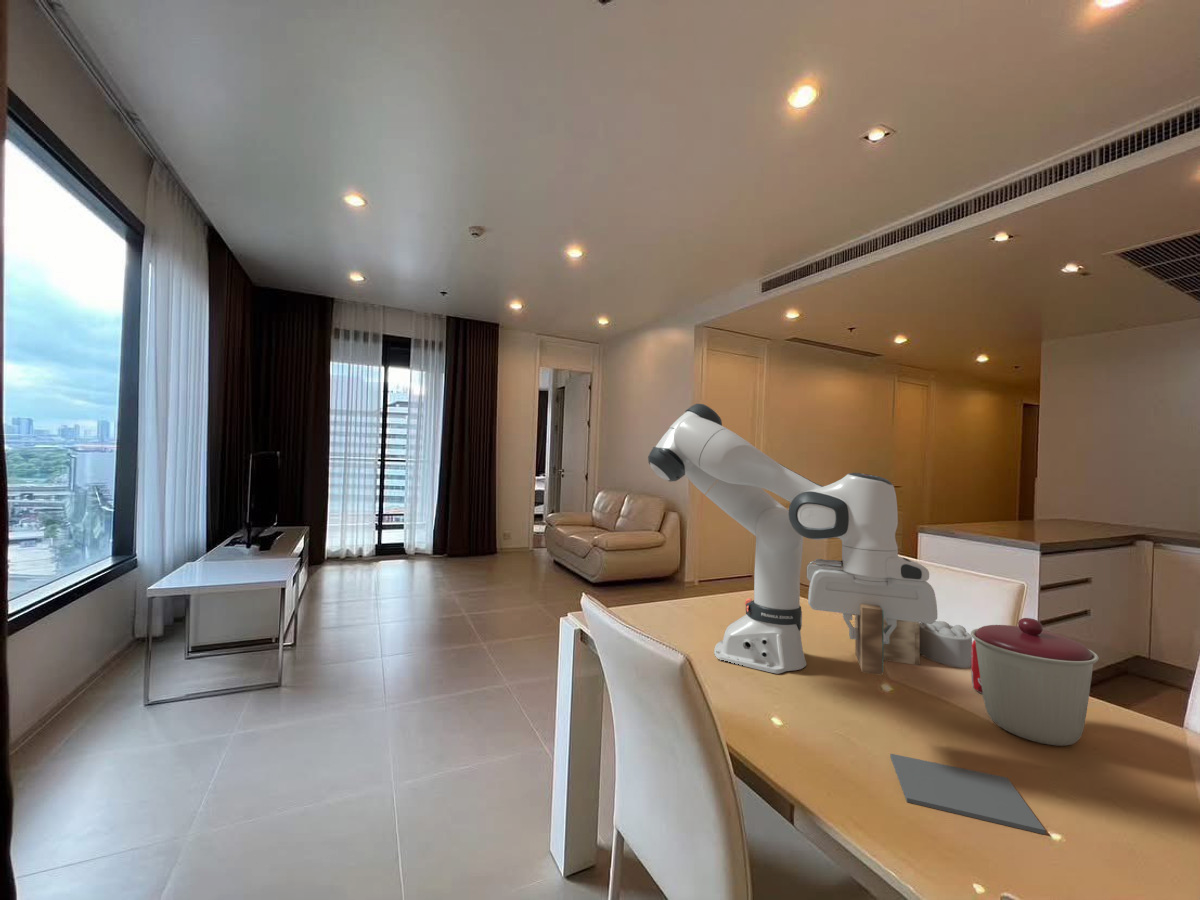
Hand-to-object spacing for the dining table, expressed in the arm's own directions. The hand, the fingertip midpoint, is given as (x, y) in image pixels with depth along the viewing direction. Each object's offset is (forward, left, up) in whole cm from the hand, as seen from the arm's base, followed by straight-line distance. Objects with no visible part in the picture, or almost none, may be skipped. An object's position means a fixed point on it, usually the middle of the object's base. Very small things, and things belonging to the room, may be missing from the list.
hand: (868, 640), depth 86 cm
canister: (+30, +18, -18) cm, 39 cm away
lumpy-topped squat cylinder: (+26, +55, -18) cm, 63 cm away
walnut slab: (0, 0, -4) cm, 4 cm away
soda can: (+29, +34, -18) cm, 48 cm away
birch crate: (+12, +57, -18) cm, 61 cm away
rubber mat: (+11, -9, -18) cm, 23 cm away
